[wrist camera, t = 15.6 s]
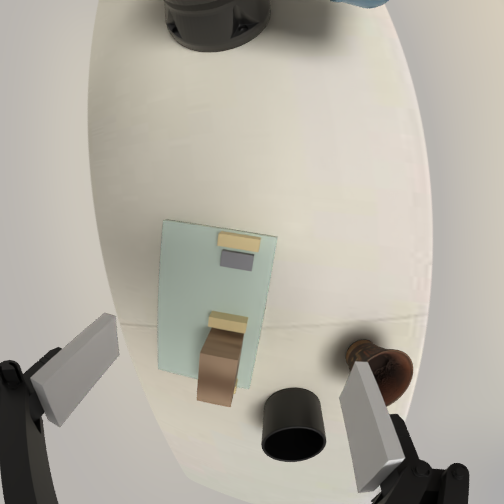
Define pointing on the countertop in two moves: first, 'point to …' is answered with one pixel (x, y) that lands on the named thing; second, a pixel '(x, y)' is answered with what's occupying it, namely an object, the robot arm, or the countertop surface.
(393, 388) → the cup
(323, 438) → the mug
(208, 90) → the countertop surface
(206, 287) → the wall board
